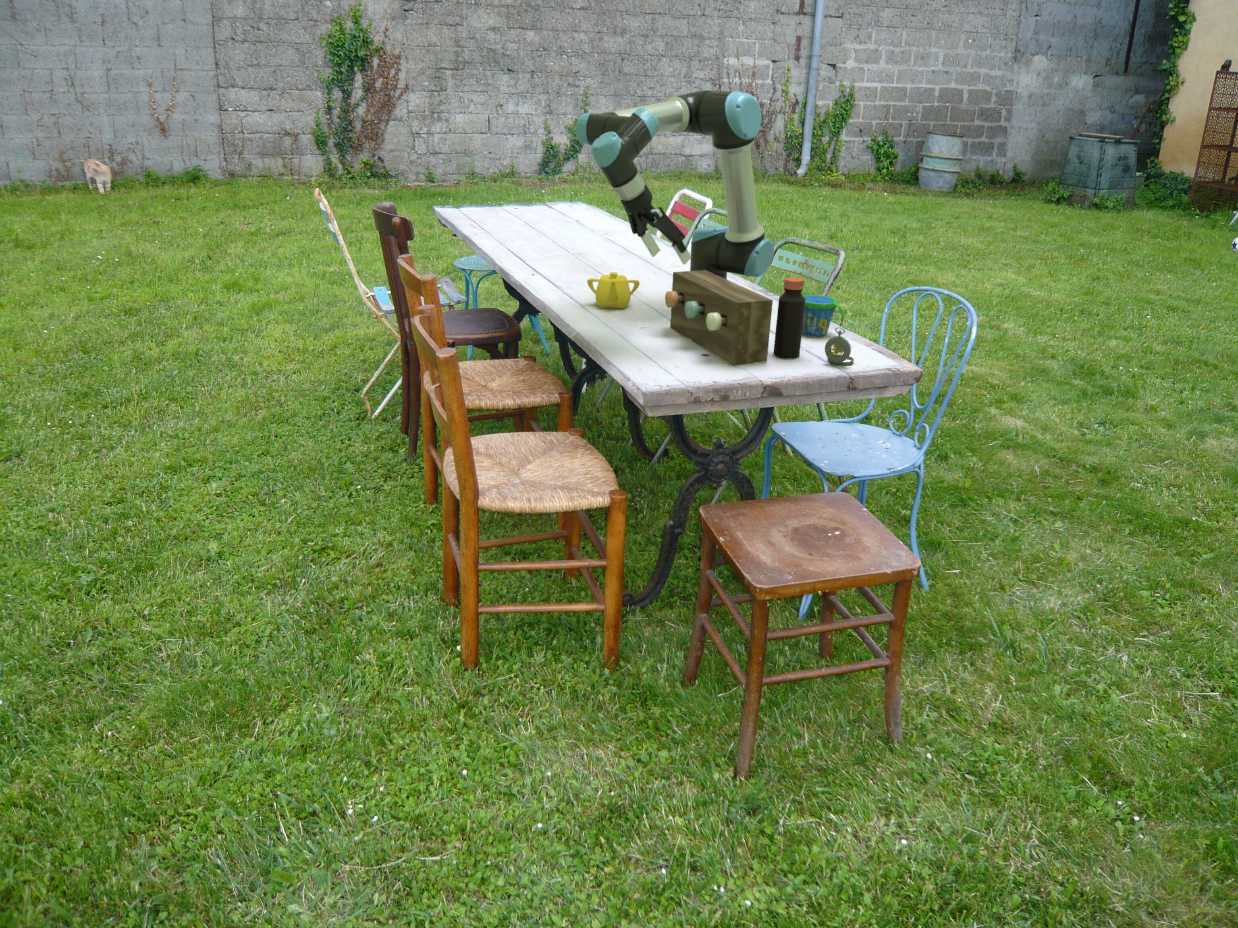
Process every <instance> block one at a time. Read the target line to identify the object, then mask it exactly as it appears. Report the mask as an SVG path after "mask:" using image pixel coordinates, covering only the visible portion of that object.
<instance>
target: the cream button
mask: <svg viewBox="0 0 1238 928" xmlns="http://www.w3.org/2000/svg"><path fill="white" fill-rule="evenodd" d="M721 324H727V317H723V318H721V316H720V314H719V313H717V312H715V313H708V314H707V317H706V325H707V328H708V329H709V330H710V331H712V330H719V329H720V327H721Z"/></svg>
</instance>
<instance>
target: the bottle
mask: <svg viewBox="0 0 1238 928" xmlns="http://www.w3.org/2000/svg"><path fill="white" fill-rule="evenodd" d="M804 285H805V280H804V279H803V278H800V277H794V276H793V277H785V278H784V280H783V290H784V293H782V294H781V295H780V296H779V297H778V303H777V304H778V305H777V315H776V324H775V334H774V345H773V355H774V356H775V357H777V358H780V359H786V358H793V359H796V358H799V357H800V352H801V343H802V335H803V334H802V327H803V318H804V310H805V298H804V297H803V294H802V292H803V291H804V290H803V289H804Z"/></svg>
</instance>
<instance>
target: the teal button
mask: <svg viewBox="0 0 1238 928" xmlns="http://www.w3.org/2000/svg"><path fill="white" fill-rule="evenodd" d="M699 312H705V306H698V303H697V302H696V301H690V302H686V304H685V315H686V317H687V318H688V319H690V318H697V317H698V315H699Z"/></svg>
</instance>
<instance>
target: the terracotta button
mask: <svg viewBox="0 0 1238 928" xmlns="http://www.w3.org/2000/svg"><path fill="white" fill-rule="evenodd" d="M664 301H665V305H666V307H667V308H671V307H677V306H678V302H680V301H684V295H681V296H678V294H677V292H676V291H672V290H668V291H666V292H665V295H664Z"/></svg>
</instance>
